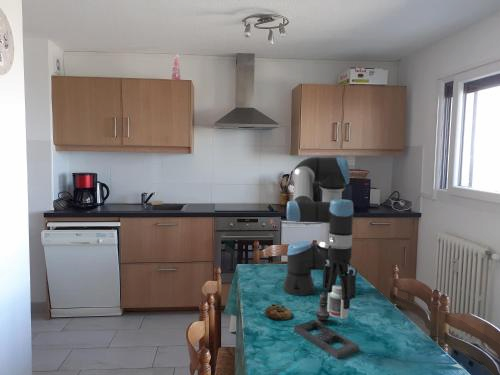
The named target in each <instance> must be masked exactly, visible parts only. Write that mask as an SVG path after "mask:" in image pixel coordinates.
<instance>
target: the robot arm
mask: <svg viewBox="0 0 500 375" xmlns="http://www.w3.org/2000/svg"><path fill="white" fill-rule="evenodd" d="M291 177H292V181H293V182H294V183H293V192H292V193H293V194H292V200H289V201H287V203H286V220H287V221H289V222H296V223H320V239H318V241H316V245H314V244H313V242H312V241H310V240H309V241H307V240H306V241H305V240H302V241H301V240H300V241H295V242H292V243H290V244H289V245H288V247H287V253H286V255H287V260H286V261H287V263H286V275H285V278H284V282H283V284H282V290H283V292H285V293H286V294H289V295H294V296H308V295H311V294H314V293H315V285H314V280H313V277H312V271H322V272H323V273H322V289H324V290H325V291H326V295H327V303H328V305H327V311H328V312H329V305H330V293H331V292H332V286H333V285H336V282H337V279H339V280H340V285H341V288H342V294H343V298H341V312H340V318H339V319H341V320H343V319H346V318H348V317H349V309H350V308H351V304H350V303H351V300H353V299H354V300H355V299H356V284H357V281H356V280H357V279H356V277H357V273H358V269H357V268H353V267H352V266H351V262H350V261H351V260H352V253H353V252H352V250H353V248H352V246H353V226H354V225H353V224H354V223H353V222H354V211H355V210H354V202H353V200H350V199H342V198H343V197H342V195H343V194H342V192H343V191H344V190H345V189H346V187H347V186H346V185H349V184H350V179H351V178H350V168H349V163H348V160H347V159H346V158H344V157H338V156H337V157H334V156H333V157H332V156H330V157H328V156H327V157H320V156H319V157H318V156H317V157H316V156H315V157H314V156H313V157H307V158H305V159H303V160H301V161H299V163H297V165H296V166H295V167H294V169H293V171H292V176H291ZM313 184H318V185H319V189H321V190H322V194H321V195H322V196H321V197H322V201H313V200H314V198H313V194H314V193H313Z"/></svg>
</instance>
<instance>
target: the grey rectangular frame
mask: <svg viewBox="0 0 500 375" xmlns="http://www.w3.org/2000/svg"><path fill="white" fill-rule="evenodd" d="M313 329H316V330H317V331H319V333H317V334H312V333H311V332H309V331H311V330H313ZM293 332H294V333H296V334H298V335H299V336H300V337H302V338H303V339H306V341H308V342H309V343H312V344H313V345H315V346H316V347H318V348H320V349H321V350H322V351H324V352H325V353H327V354H328V355H330V356H332V357H333V358H334V359H336V360H338V359H341V358H344V357H346V356H350V355H352V354H355V353H358V352H359V351H360V345H359V344H357V343H356V342H354V341H353V340H351V339H350V338H349V339H348V338H347V337H345V336H344V335H342V334H339V333H338V332H336V331H334V330H332V329H331V328H329V327H327V326H325V325H323V324H320V323H319V322H317V321H316V319H315V320H312V321H307V322H303V323H300V324H297V325H294V326H293ZM333 342H338V343H339V344H341V345H343V346H342V347H338V348H335V347H333V346H332V345H331V343H333Z"/></svg>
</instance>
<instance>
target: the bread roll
mask: <svg viewBox="0 0 500 375" xmlns="http://www.w3.org/2000/svg"><path fill="white" fill-rule="evenodd" d="M291 311H292V310H290V309H289V308H288V307H285V306H284V305H279V304H275V303H274V304H272V305H269V306H267V307H266V308H265V309H264V315H265V317H266V318H267V317H268V319H269V320H271V321H284V320H286V321H287V320H290V319H291V318H292V312H291Z"/></svg>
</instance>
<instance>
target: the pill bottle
mask: <svg viewBox="0 0 500 375" xmlns="http://www.w3.org/2000/svg"><path fill="white" fill-rule="evenodd" d="M341 298H343V294H342V288H341V284H335V285H333V286H332V292H331V293H330V305H329V314H330V317H333V318H338V319H341V318H340V312H341Z"/></svg>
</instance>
